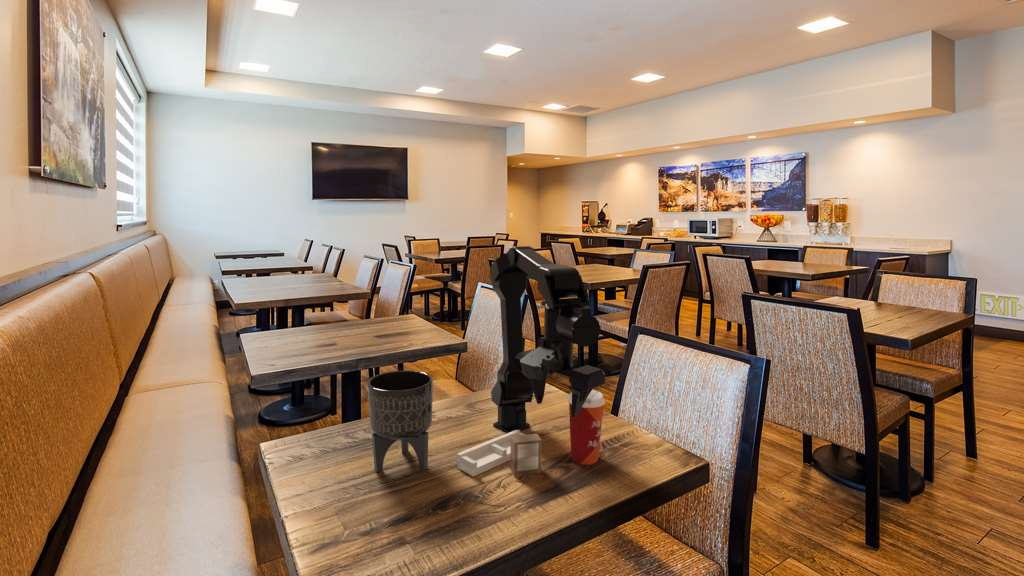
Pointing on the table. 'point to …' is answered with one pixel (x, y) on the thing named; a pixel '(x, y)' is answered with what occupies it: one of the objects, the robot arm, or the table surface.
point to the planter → (400, 413)
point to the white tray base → (486, 454)
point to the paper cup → (586, 429)
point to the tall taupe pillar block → (526, 454)
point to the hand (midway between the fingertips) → (556, 410)
